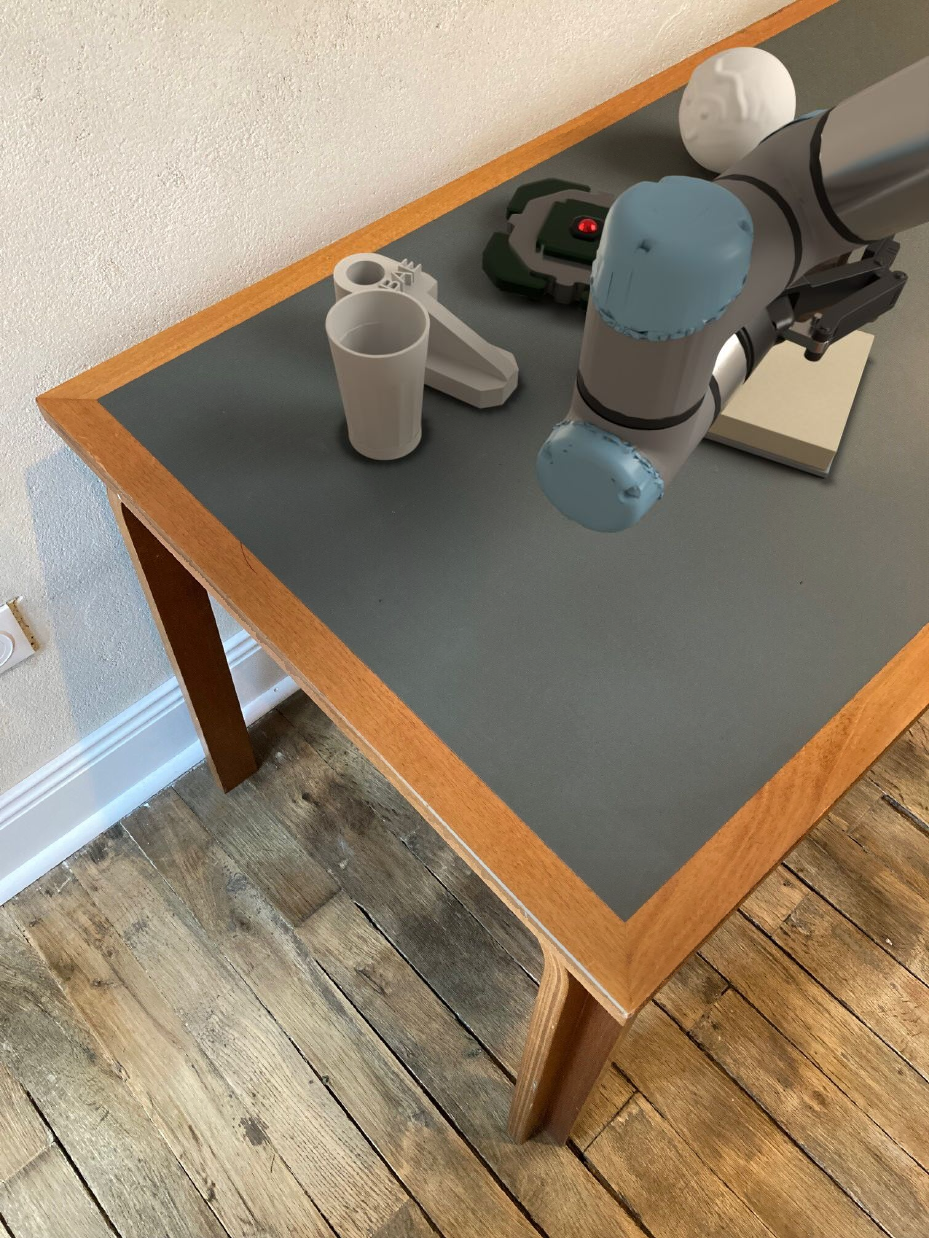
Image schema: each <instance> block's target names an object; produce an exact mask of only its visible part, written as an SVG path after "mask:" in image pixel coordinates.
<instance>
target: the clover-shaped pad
mask: <svg viewBox="0 0 929 1238" xmlns="http://www.w3.org/2000/svg"><path fill="white" fill-rule="evenodd" d="M591 190H592V189H591V187H590V186H589V185H588V184H583V183H579V182H575V181H570V180H565V179H561V178H556V177H547V178H542V179H539V180H535V181H532V182H528V183H524V184H521V185H520V186H518V187H517V188H516V190H515V192H514V194H513V195H512V197H511V199H510V201H509V202H508V205H507V207H506V218H505V219H506V220H507V231H503V230H502V231H501V230H496V231H493V233H492V235H491V237H490V239H489V241H488V242H487V244H486V245H485V248H484V250H483V251H482V252H481V253H482V254H481V269H482V271H483V272H484V273H485V275H486V276H487V277H488V279H489V280H490V281H491V283H492V284H493V285H494V287H495V288H496V289H498V290H500V291H501V292H506V293H510V294H514V295H517V296H522V297H525V298H530V299H533V300H541V299H544V296H545V294H550V295H552V296H553V301H555V302H556V303H560V304H563V305H570V304H571V303H572V301H578V302H579V304H578V309H580V311H581V312H585V313H587V308H588V301H589V294H590V281H591V279H590V276H591V274H592V266H593V261H594V260H595V259H596V257H597V250H598V248H599V245H600V241H601V237H602V233H603V228H604V224H605V220H606V217H607V215H608V212H609V210H610V208H611V206H612V205H613V203H614V202H615V201H616V199H617V198H616V197H614V196H615V195H614V193H612V192H610V191H607V190H597V192H594V193H593V192H591Z"/></svg>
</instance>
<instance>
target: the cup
mask: <svg viewBox="0 0 929 1238" xmlns="http://www.w3.org/2000/svg"><path fill="white" fill-rule="evenodd" d="M429 328H430V318H429V315H428V312H427V310H426V309H425V307H424V306H423V305H422V304H421V303H420V302H419V301H418V300H417V299H415V298H414V297H412V296H410V295H408V294H406V293H403V292H400V291H396V290H392V289H382V288H376V289H366V290H361V291H357V292H354V293H352V294H349V295H347V296H345V297H344V298H342V299H340V300H339V301H338V302H337V303H336V302H335V303H334V304H333V305H332V306H331V308H330V309H329V311H328V313H327V315H326V318H325V331H326V335H327V339H328V344H329V348H330V352H331V356H332V361H333V364H334V370H335V375H336V378H337V383H338V387H339V392H340V396H341V401H342V406H343V411H344V415H345V419H346V424H347V430H348V431H347V432H348V438H349V442H350V444H351V446H352V447H353V449H355V450H356V451H357V452H358V453H359V454H361V455H362V456H365V457H366V458H369V459H372V460H379V461H390V460H391V461H392V460H396V459H399V458H402V457H405V456H407V455H409V454H410V453H412V452H413V451H414V450H415V449H416V448H417V447H418V445H419V443H420V442H421V439H422V411H423V410H422V409H423V399H424V398H423V397H424V385H425V384H424V374H425V362H426V358H427V348H428V338H429Z"/></svg>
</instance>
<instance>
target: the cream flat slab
mask: <svg viewBox="0 0 929 1238" xmlns="http://www.w3.org/2000/svg"><path fill="white" fill-rule="evenodd" d="M874 339H875V334H871V333H868V332H865V331H861V330H859V329H857V330H855V331H853V332H852V333H850V334H848V335H847V336H845V337H843V338H842V339H840V340H838V341H837V342H835V343H833V344H832V345H830V346H829V347H828V349H827V350H826V352H825V353H824V355H823V356H822V358H821V359H820V360H819V361H817V362H811V361H808V360H807V359H806V358H805V357H804V352H805V350H806V348H805V347H802V346H800V345H798V344H795V343H793V342H790V341H788V340H786V341H785V342H783V343H781V344H778V345H775V346H773V347H772V348H771V349H770V350H769V352H768V353H767V354H766V356H765V357H764V358H763V360H762V361H761V362H760V364H759V365H758V366H757V368H756V369H755V370H754V372H753V373H752V374H751V376H750V377H749V378H748V380H747V381H746V382H745V383H744V384H743V385H742V386H741V388H740V390H739V391H738V392H737V394H736V395H735V396H734V398H733V399H732V400H731V401H730V403H729V404H728V405H727V406H726V408H725V409H724V410H723V412H722V413H721V414H720V415H719V417H718V418H717V419H716V420H715V422H714V423H713V425H712V426H711V427H710V429H709V430H708V431H707V433H706V434H705V436H704V437H703V438H704V439H708V440H711V441H714V442H716V443H720V444H723V445H725V446H729V447H731V448H735V449H737V450H740V451H743V452H747V453H751V454H752V455H756V456H758V457H761V458H765V459H768V460H770V461H773V462H776V463H780V464H783V465H786V466H788V467H792V468H794V469H797V470H800V471H803V472H806V473H809V474H812V475H815V476H817V477H821V478H825V479H826V478H827V477H828V475H829V472H830V469H831V466H832V463H833V460H834V457H835V455H836V454H837V452H838V448H839V445H840V443H841V442H840V441H841V439H842V436H843V433H844V429H845V427H846V424H847V420H848V418H849V416H850V412H851V409H852V405H853V403H854V400H855V396H856V393H857V390H858V388H859V385H860V381H861V379H862V375H863V372H864V370H865V366H866V363H867V361H868V357H869V354H870V351H871V349H872V345H873V342H874Z"/></svg>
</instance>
